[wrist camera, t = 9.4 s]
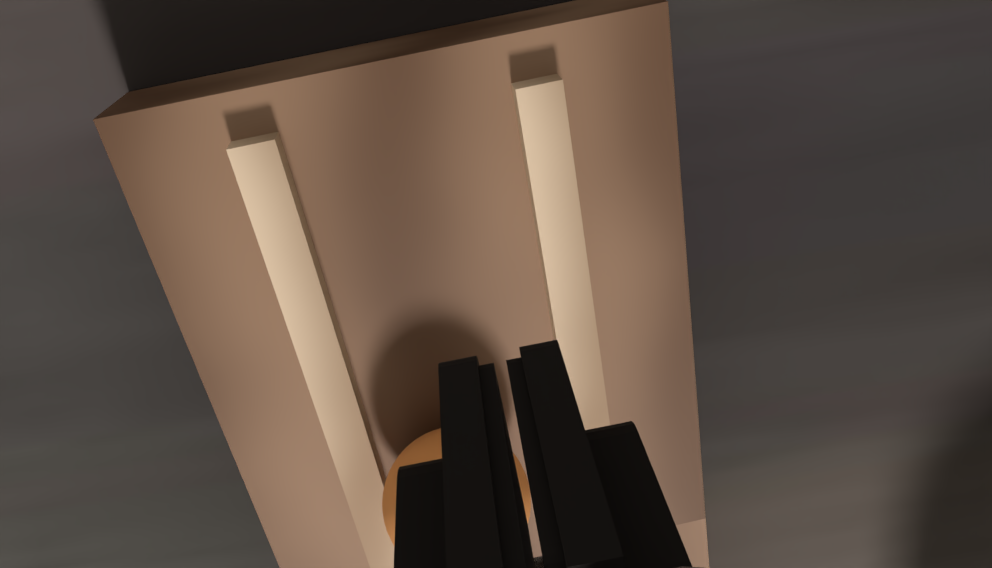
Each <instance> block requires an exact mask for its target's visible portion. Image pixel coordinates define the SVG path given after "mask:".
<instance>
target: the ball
mask: <svg viewBox="0 0 992 568" xmlns="http://www.w3.org/2000/svg"><path fill="white" fill-rule="evenodd" d="M513 456H514V460H515V465H516V470H517V475H518V479H519V484H520V489H521V494H522V498H523V503H524V508H525V513H526V518H527V523H528V521H529V517H530V510H531V494H530V488H529V483H528V479H527V476H526V474H525V471H524V469H523V467H522V465H521V463H520V461H519V460H518V458H517V457H516V456H515V454H514V453H513ZM437 459H442V447H441V428H440V429H436V430H433V431H431V432H428V433H426V434H424V435H422V436H420V437H419V438H417V439H416V440H414V441H413V442H412V443H410V444H409V445H408V446H407V447H406V448H405V449H404V450H403V451H402V452H401V454H400V455H399V456H398V457H397V459H396V460H395V462H394V463H393V465H392V467H391V469H390V471H389V473H388V476H387V478H386V482H385V486H384V490H383V498H382V511H383V518H384V524H385V527H386V530H387V533H388V535H389V537H390V539H391V541H392V543H393V545H395V517H396V489H397V473H398V469H399V467H401V466H406V465H411V464H416V463H421V462H427V461H432V460H437Z"/></svg>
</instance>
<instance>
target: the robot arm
mask: <svg viewBox="0 0 992 568" xmlns="http://www.w3.org/2000/svg"><path fill="white" fill-rule="evenodd" d="M519 350H520V355H521V357H520V358H515V359H510V360H506V363H507V369H508V374H509V379H510V385H511V390H512V396H513V401H514V406H515V412H516V417H517V423H518V428H519V433H520V439H521V444H522V450H523V455H524V461H525V466H526V471H527V477H528V482H529V488H530V493H531V498H532V504H533V509H534V515H535V520H536V525H537V531H538V536H539V542H540V547H541V552H542V558H543V563H544V568H704V567H692V564H691V562H690V559H689V557H688V554H687V552H686V549H685V547H684V544H683V542H682V539H681V537H680V535H679V532H678V530H677V527H676V525H675V522H674V520H673V517H672V515H671V512H670V510H669V507H668V505H667V502H666V500H665V497H664V495H663V492H662V490H661V487H660V485H659V482H658V480H657V477H656V475H655V472H654V470H653V467H652V465H651V462H650V460H649V457H648V455H647V452H646V450H645V448H644V445H643V443H642V440H641V438H640V435H639V433H638V430H637V428H636V426H635V424H634V423H633V422H632V421H629V422H624V423H619V424H614V425H609V426H604V427H599V428H594V429H588V430H585V428H584V425H583V422H582V418H581V415H580V412H579V408H578V405H577V402H576V399H575V395H574V392H573V389H572V386H571V382H570V379H569V376H568V373H567V369H566V366H565V363H564V359H563V356H562V353H561V350H560V346H559V343H558V340H552V341H547V342H542V343H537V344H532V345H527V346H522V347H519ZM438 375H439V399H440V423H441V447H442V459H437V460H432V461H427V462H421V463H416V464H411V465H406V466H401V467H399V469H398V473H397V489H396V517H395V545H394V568H535V563H534V557H533V552H532V546H531V540H530V534H529V529H528V523H527V518H526V513H525V508H524V503H523V498H522V494H521V489H520V484H519V479H518V475H517V470H516V465H515V460H514V456H513V451H512V446H511V441H510V437H509V432H508V427H507V422H506V418H505V413H504V408H503V403H502V399H501V394H500V389H499V384H498V380H497V375H496V370H495V366H494V363H489V364H484V365H479V362H478V358H477V355H476V356H471V357H466V358H461V359H456V360H451V361H446V362H441V363H439V364H438Z"/></svg>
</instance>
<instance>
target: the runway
mask: <svg viewBox="0 0 992 568" xmlns="http://www.w3.org/2000/svg"><path fill="white" fill-rule="evenodd" d="M93 121H94V123H95V125H96V128H97V130H98V133H99V135H100V137H101V140H102V142H103V145H104V147H105V149H106V152H107V154H108V157H109V159H110V161H111V164H112V166H113V168H114V171H115V173H116V176H117V178H118V180H119V183H120V185H121V188H122V190H123V192H124V195H125V197H126V200H127V202H128V204H129V207H130V209H131V212H132V214H133V216H134V219H135V221H136V224H137V226H138V228H139V231H140V233H141V236H142V238H143V240H144V243H145V245H146V248H147V250H148V252H149V255H150V257H151V260H152V262H153V264H154V267H155V269H156V272H157V274H158V276H159V279H160V281H161V284H162V286H163V288H164V291H165V293H166V296H167V298H168V300H169V303H170V305H171V308H172V310H173V312H174V315H175V317H176V320H177V322H178V324H179V327H180V329H181V332H182V334H183V336H184V339H185V341H186V344H187V346H188V348H189V351H190V353H191V356H192V358H193V360H194V363H195V365H196V368H197V370H198V372H199V375H200V377H201V380H202V382H203V384H204V387H205V389H206V392H207V394H208V396H209V399H210V401H211V404H212V406H213V408H214V411H215V413H216V416H217V418H218V420H219V423H220V425H221V428H222V430H223V432H224V435H225V437H226V440H227V442H228V444H229V447H230V449H231V452H232V454H233V456H234V459H235V461H236V464H237V466H238V468H239V471H240V473H241V476H242V478H243V480H244V483H245V485H246V488H247V490H248V492H249V495H250V497H251V500H252V502H253V504H254V507H255V509H256V512H257V514H258V516H259V519H260V521H261V524H262V526H263V528H264V531H265V533H266V536H267V538H268V540H269V543H270V545H271V548H272V550H273V552H274V555H275V557H276V560H277V562H278V564H279V567H280V568H394V545H393V543H392V541H391V539H390V537H389V535H388V533H387V530H386V527H385V524H384V518H383V511H382V498H383V490H384V486H385V482H386V478H387V476H388V473H389V471H390V469H391V467H392V465H393V463H394V462H395V460H396V459H397V457H398V456H399V455H400V454H401V452H402V451H403V450H404V449H405V448H406V447H407V446H408V445H409V444H410V443H412V442H413V441H414V440H416V439H417V438H419V437H420V436H422V435H424V434H426V433H428V432H431V431H433V430H436V429H440V428H441V423H440V399H439V375H438V364H439V363H441V362H446V361H451V360H456V359H461V358H466V357H471V356H476V355H477V358H478V362H479V365H484V364H489V363H494V366H495V370H496V375H497V380H498V384H499V389H500V394H501V399H502V403H503V408H504V413H505V418H506V422H507V427H508V432H509V437H510V441H511V446H512V451H513V453H514V454H515V456H516V457H517V458H518V460H519V461H520V463H521V465H522V467H523V469H524V471H525V474H526V476H527V471H526V466H525V461H524V455H523V450H522V444H521V439H520V433H519V428H518V423H517V417H516V412H515V406H514V401H513V396H512V390H511V385H510V379H509V374H508V369H507V363H506V360H510V359H515V358H520V357H521V355H520V350H519V347H522V346H527V345H532V344H537V343H542V342H547V341H552V340H558V343H559V346H560V350H561V353H562V356H563V359H564V363H565V366H566V369H567V373H568V376H569V379H570V382H571V386H572V389H573V392H574V395H575V399H576V402H577V405H578V408H579V412H580V415H581V418H582V422H583V425H584V428H585V430H588V429H594V428H599V427H604V426H609V425H614V424H619V423H624V422H629V421H632V422H633V423H634V424H635V426H636V428H637V430H638V433H639V435H640V438H641V440H642V443H643V445H644V448H645V450H646V452H647V455H648V457H649V460H650V462H651V465H652V467H653V470H654V472H655V475H656V477H657V480H658V482H659V485H660V487H661V490H662V492H663V495H664V497H665V500H666V502H667V505H668V507H669V510H670V512H671V515H672V517H673V520H674V522H675V525H676V527H677V530H678V532H679V535H680V537H681V539H682V542H683V544H684V547H685V549H686V552H687V554H688V557H689V559H690V562H691V564H692V567H704V568H709V558H708V545H707V531H706V517H705V503H704V490H703V476H702V462H701V449H700V435H699V421H698V407H697V394H696V380H695V366H694V353H693V339H692V325H691V311H690V298H689V284H688V270H687V256H686V243H685V229H684V215H683V202H682V188H681V174H680V160H679V147H678V133H677V119H676V106H675V92H674V78H673V64H672V51H671V37H670V23H669V9H668V1H666V0H575V1H570V2H565V3H560V4H555V5H550V6H545V7H541V8H536V9H531V10H526V11H521V12H516V13H511V14H506V15H501V16H497V17H492V18H487V19H482V20H477V21H472V22H467V23H462V24H458V25H453V26H448V27H443V28H438V29H433V30H428V31H423V32H419V33H414V34H409V35H404V36H399V37H394V38H389V39H384V40H379V41H375V42H370V43H365V44H360V45H355V46H350V47H345V48H340V49H336V50H331V51H326V52H321V53H316V54H311V55H306V56H301V57H297V58H292V59H287V60H282V61H277V62H272V63H267V64H262V65H257V66H253V67H248V68H243V69H238V70H233V71H228V72H223V73H218V74H214V75H209V76H204V77H199V78H194V79H189V80H184V81H179V82H174V83H170V84H165V85H160V86H155V87H150V88H145V89H140V90H135V91H131V92H128V93H126V94H125V95H124V96H123V97H121V98H120V99H119V100H117V101H116V102H115V103H114V104H112V105H111V106H110V107H109V108H107V109H106V110H105V111H103V112H102V113H101V114H100V115H98V116H97V117H96V118H95V119H93ZM527 479H528V477H527ZM528 483H529V482H528ZM530 494H531V493H530ZM528 529H529V534H530V540H531V546H532V552H533V557H534V558H535V557H539V556H542V552H541V547H540V542H539V536H538V531H537V525H536V520H535V515H534V509H533V504H532V498H531V510H530V517H529V521H528Z"/></svg>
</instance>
